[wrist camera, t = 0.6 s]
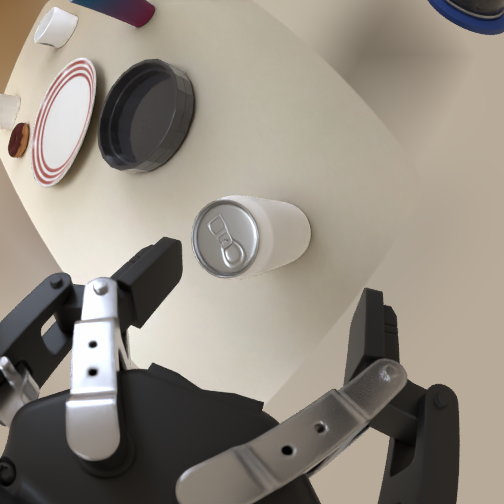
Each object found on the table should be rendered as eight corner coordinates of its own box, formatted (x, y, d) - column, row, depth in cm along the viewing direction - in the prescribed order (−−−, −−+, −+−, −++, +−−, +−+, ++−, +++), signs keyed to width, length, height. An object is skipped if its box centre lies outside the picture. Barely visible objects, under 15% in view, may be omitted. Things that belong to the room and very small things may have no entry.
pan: (122, 84, 42) (105, 78, 38) (200, 55, 35) (183, 44, 31) (112, 177, 44) (93, 175, 40) (191, 167, 37) (172, 163, 33)
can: (274, 274, 33) (213, 300, 22) (244, 224, 34) (173, 226, 23) (324, 242, 30) (282, 254, 20) (290, 189, 32) (233, 174, 21)
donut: (33, 124, 59) (21, 122, 55) (25, 160, 61) (12, 159, 58) (23, 122, 62) (12, 120, 59) (15, 155, 65) (4, 154, 61)
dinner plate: (55, 77, 53) (44, 74, 50) (121, 45, 42) (108, 40, 39) (35, 186, 58) (23, 185, 55) (92, 191, 46) (76, 190, 43)
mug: (83, 15, 48) (59, 6, 41) (63, 51, 52) (38, 44, 45) (68, 14, 52) (47, 6, 45) (50, 45, 56) (29, 39, 49)
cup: (133, 37, 40) (67, 8, 27) (129, 18, 41) (69, -10, 27) (161, 14, 37) (96, -23, 24) (155, -4, 38) (96, -39, 24)
